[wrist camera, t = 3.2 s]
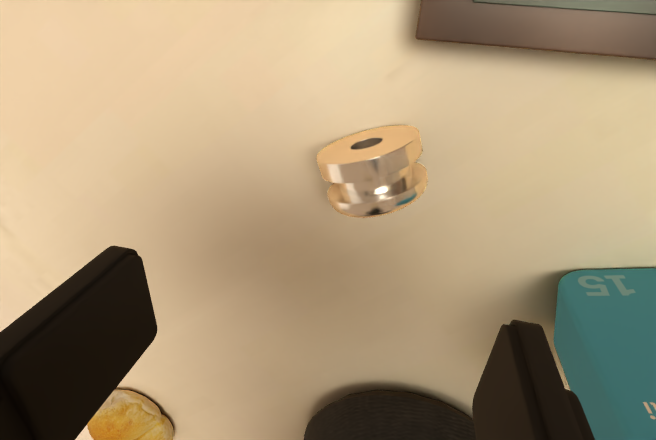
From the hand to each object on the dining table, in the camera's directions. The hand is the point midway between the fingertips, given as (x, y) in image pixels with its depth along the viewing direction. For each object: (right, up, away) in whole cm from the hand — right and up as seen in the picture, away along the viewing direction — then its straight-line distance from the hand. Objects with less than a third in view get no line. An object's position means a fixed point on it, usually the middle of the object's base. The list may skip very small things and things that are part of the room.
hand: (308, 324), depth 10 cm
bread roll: (-19, -18, +31) cm, 41 cm away
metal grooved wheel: (+3, +6, +11) cm, 14 cm away
